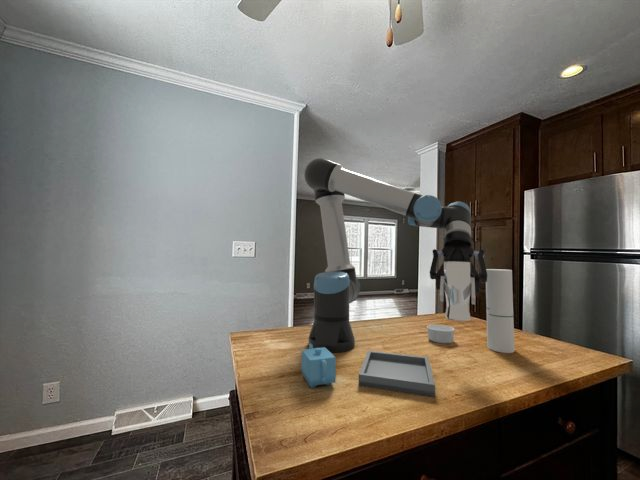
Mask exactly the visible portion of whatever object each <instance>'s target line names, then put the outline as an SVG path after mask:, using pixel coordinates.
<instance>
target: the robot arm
mask: <svg viewBox="0 0 640 480" xmlns="http://www.w3.org/2000/svg"><path fill="white" fill-rule="evenodd" d="M303 175H304V180H305V182H306V185H307V186H308V187H309V188H311V190H313V192H314V199H315V200H314V202H315V203H316V204H317V205H318V206H319V207H320V208H319V209H320V214H321V216H320V217H321V222H322V231H323V236H324V237H323V238H324V246H325V254H326V261H327V266H326V269H325V270H324V272H319V273H317V274H316V275H315V277H314V281H313V323H312V325H311V329H310V332H309V335H308V344H309V343H310V344H312V345H313V348H322V347H325V348H326V349H327V350H328V351H330V352H331V353H342V352H347V351H350V350H352V349H354V348H355V344H356V342H355V339H356V338H355V335H354V332H353V329H352V326H351V323H350V304H352V303H353V302H355V300H357V298H358V297H359V295H360V290H361V284H360V281H359V279H358V278H357V272H356V267H355V266H354V265H353V264H352V263H351V259H350V253H349V246H348V239H347V238H348V237H347V231H346V230H347V229H346V224H345V217H344V210H343V201H344V200H345V198H346V196H345V195H347V196H350V197H352V198H356V199H358V200H361V201H364V202H367V203H370V204H372V205H374V206H378V207H381V208H384V209H386V210H389V211H391V212H394V213H397V214H401V215H403V216H405V217H407V223H408V225H409V226H414V227H417V228H418V227H421V228H430V229H431V228H432V229H442V230H444V239H443V241H444V242H443V248H441V250H437V249H435V248H434V249H432V261H431V265H430V268H429V269H430V270H429V277H430V279H431V280H435V289H436V290H439V302H441V303H442V302H443V303H444V296H445V295H444V294H445V291H444V281H443V263H444V261H461V262H471V270H472V282H471V293H470V297H471V305H474V306H475V305H476V293H480V291H481V283H486V282H487V271H486V269H487V267H486V263H485V250H484V249H480V250H479V251H477V250H475V249H474V248H473V241H472V219H471V218H472V214H471V208H470V207H469V206H468V204H467V203H466V202H462V201H455V202H451V203H450V204H448V205H447V206H442V202H441V201H440V199H439V198H437V197H436V196H434V195H430V194H426V195H422V194H420V193H416V192H413V191H411V190H408V189H405V188H401V187H398V186H396V185H392V184H389V183H387V182H384V181H380V180H377V179H374V178H372V177H369V176H366V175H363V174H360V173H357V172H354V171H350V170H348V169H345V168H344V167H343V165H342V164H340V163H337V162H334V161H332V160H329V159H326V158H323V157H319V158H314V159H313V160H311V161H310V162H309V163H308V164H306V167H305V170H304V174H303ZM442 256H443V257H444V260H443V262H442V264H441V266H440V267H439V269H438V265H439V259H441V257H442ZM472 257H474V258H475V259H476V260H477V264H478V269H479V273H478V271H477V269H476V267H475V266H474V264H473V262H472V261H471V258H472ZM437 270H438V271H437Z"/></svg>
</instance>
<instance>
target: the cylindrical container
mask: <svg viewBox="0 0 640 480" xmlns="http://www.w3.org/2000/svg"><path fill="white" fill-rule="evenodd" d="M486 271H487V282H485V301H486V302H485V304H486V305H485V306H486V307H485V308H486V339H487V341H486V344H487V345H486V346H487V347H486V348H488V349H489V350H492V351H493V352H497V353H504V354H513V353H514V352H515V329H514V328H515V327H514V326H515V324H514V295H513V294H514V292H513V270H512V269H500V268H499V269H497V268H486Z"/></svg>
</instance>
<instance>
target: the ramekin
mask: <svg viewBox="0 0 640 480" xmlns="http://www.w3.org/2000/svg"><path fill="white" fill-rule="evenodd" d="M426 329H427V334H428V335H427V337H428V339H429V340H430V341H431V342H434V343H438V344H452V343H453V342H454V339H455V338H454V337H455V328H454V327H452V326H448V325H444V324H429V325H426Z"/></svg>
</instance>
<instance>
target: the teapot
mask: <svg viewBox="0 0 640 480" xmlns="http://www.w3.org/2000/svg"><path fill="white" fill-rule="evenodd" d="M336 359H337V358H336V356H335V355H334V354H333V352H330V351H328V350H327V349H326V348H325V347H322V348H313V345H312V344H310V343H309V342H308V348H305V349H301V366H300V368H301V370H300V371H301V372H300V373H301V375H302V377H303V378H304V380H305V381H306V383H307V384H308V386H309V387H310V388H316V387H317V386H323V385H325V386H330V385H332V384H333V383H336V382H337V380H336V379H337V378H336V377H337V376H336V374H337V370H336V369H337V367H336V366H337V361H336Z"/></svg>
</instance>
